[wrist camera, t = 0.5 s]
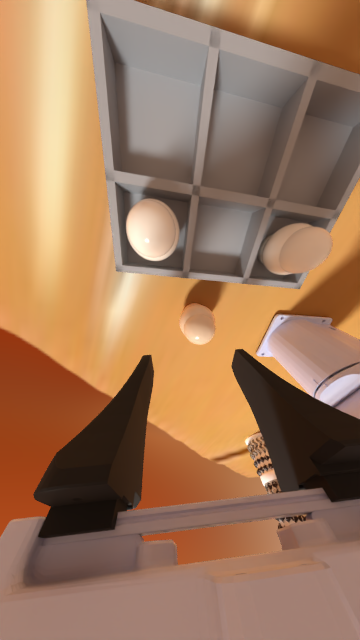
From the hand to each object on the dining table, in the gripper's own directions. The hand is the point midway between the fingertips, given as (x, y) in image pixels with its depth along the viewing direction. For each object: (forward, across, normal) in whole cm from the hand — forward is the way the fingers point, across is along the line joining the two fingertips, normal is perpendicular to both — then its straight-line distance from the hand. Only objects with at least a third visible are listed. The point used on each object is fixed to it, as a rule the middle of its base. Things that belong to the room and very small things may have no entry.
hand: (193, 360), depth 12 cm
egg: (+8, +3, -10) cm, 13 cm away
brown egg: (+8, -1, 0) cm, 9 cm away
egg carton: (+8, -4, -12) cm, 15 cm away
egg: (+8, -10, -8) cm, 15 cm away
